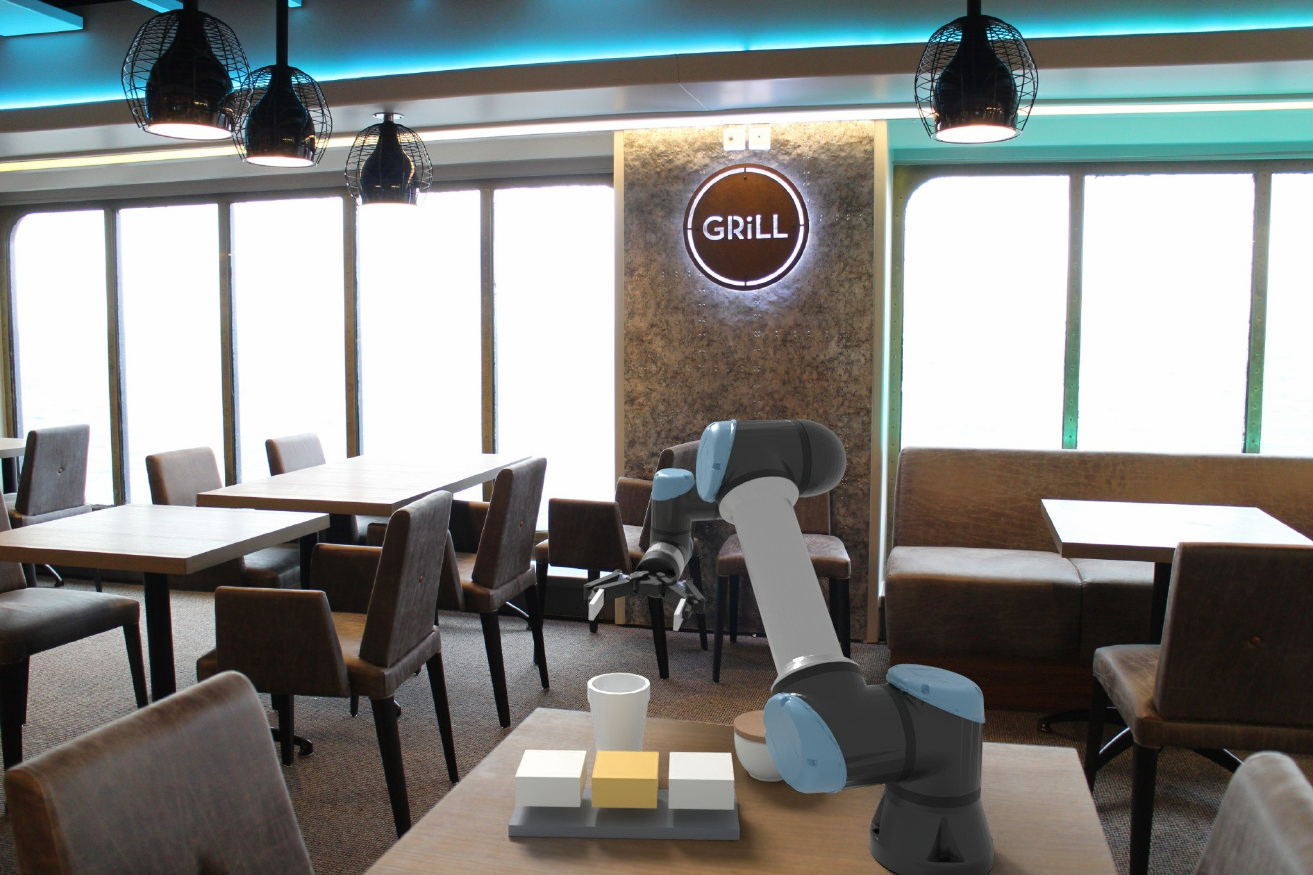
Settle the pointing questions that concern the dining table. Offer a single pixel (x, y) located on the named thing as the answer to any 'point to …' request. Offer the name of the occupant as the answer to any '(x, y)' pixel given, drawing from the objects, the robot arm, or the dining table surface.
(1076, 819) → the dining table surface
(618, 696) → the foam cup
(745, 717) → the lidded jar
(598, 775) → the amber key
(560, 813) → the keypad base
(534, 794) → the key
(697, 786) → the key
